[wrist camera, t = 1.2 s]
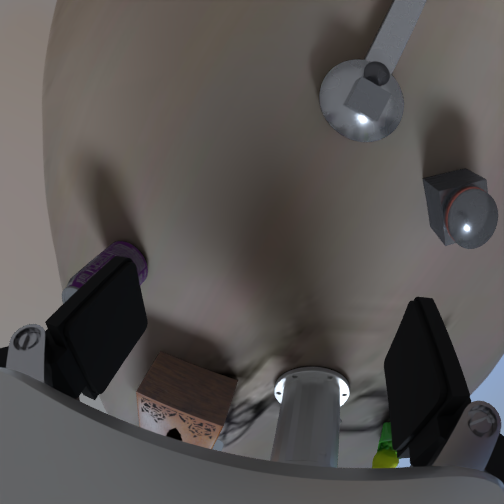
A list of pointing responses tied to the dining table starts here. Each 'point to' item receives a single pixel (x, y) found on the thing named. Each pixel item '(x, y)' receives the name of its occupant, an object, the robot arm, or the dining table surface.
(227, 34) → the dining table surface
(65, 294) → the beverage can
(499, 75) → the dining table surface
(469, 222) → the grey domed block
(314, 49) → the dining table surface
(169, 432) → the tissue box cover
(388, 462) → the fruit basket
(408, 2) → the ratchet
